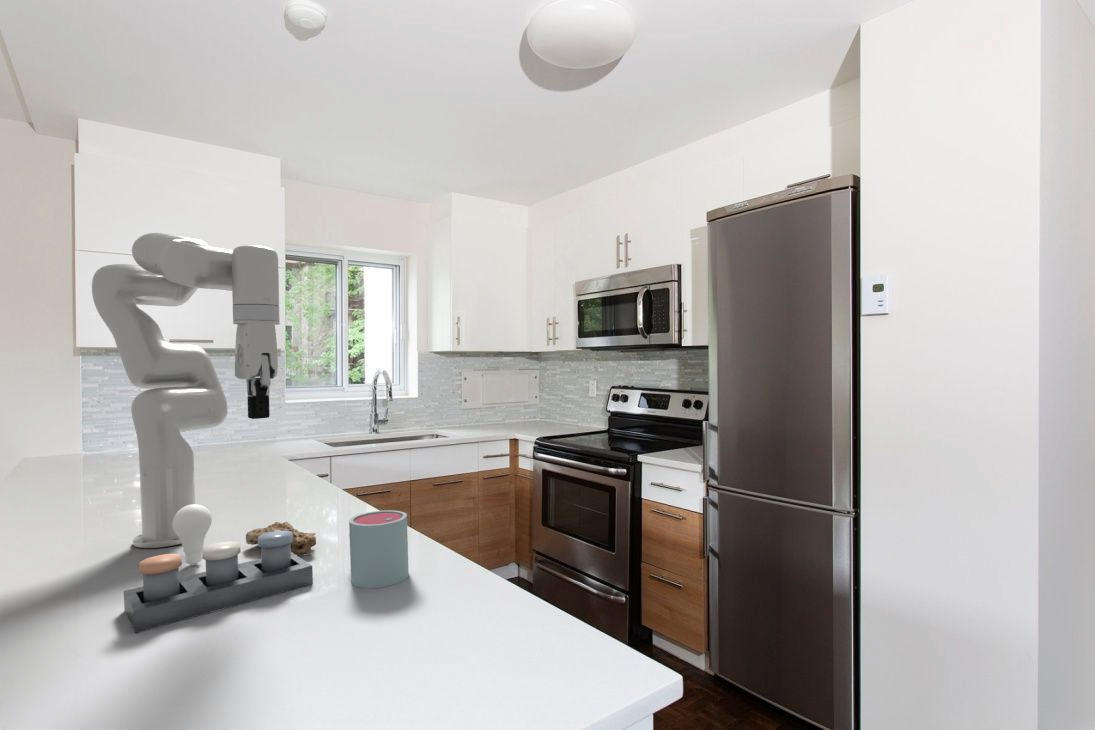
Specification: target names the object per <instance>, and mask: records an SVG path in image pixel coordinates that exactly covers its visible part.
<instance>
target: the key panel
mask: <svg viewBox="0 0 1095 730" xmlns="http://www.w3.org/2000/svg"><path fill="white" fill-rule="evenodd" d="M313 572H314V571H313V565H312V564H311V563H309V562H308V561H306V560H305V559H303V558H301V557H300V556H298V555H295V554H294V553H292V552H291V567H287V568H283V569H279V570H275V571H271V572H267V573H263V572H262V564H261V558H258V559H254V560H250V561H245V562H240V563H238V576H239V580H235V581H231V582H227V583H223V584H219V585H215V586H211V587H207V588H206V571H202V572H199V573H194V574H190V575H185V576H182V577H181V576H179V587H180V594H179V595H175V596H171V597H167V598H163V599H159V600H155V601H151V602H147V603H144V590H143V586H138V587H134V588H129V589H125V590H123V604H124V607H123V608H124V610H123V611H124V613H125V614H126V617H127V619H128V621H129V623H130V625H131V628H132V630H133V632H134V634H137V633H141V632H144V631H147V630H151V629H156V628H158V627H162V626H166V625H169V624H172V623H176V622H180V621H184V620H188V619H192V618H194V617H198V616H202V615H205V614H208V613H214V612H216V611H220V610H224V609H227V608H230V607H234V606H238V605H241V604H245V603H249V602H253V601H256V600H260V599H263V598H266V597H267V598H268V597H270V596H275V595H278V594H282V593H284V592H285V593H286V592H289V591H293V590H297V589H299V588H300V589H301V588H303V587H307V586H310V585H313V584H314V580H313V579H314V578H313V577H314V576H313V575H314V574H313Z"/></svg>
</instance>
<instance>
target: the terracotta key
mask: <svg viewBox="0 0 1095 730" xmlns="http://www.w3.org/2000/svg"><path fill="white" fill-rule="evenodd" d="M182 560H183V559H182V554H181V553H180V554H179V553H165V554H159V555H155V556H149V557H147V558H145V559H143V560H141V561H140V562H139V564H138V567H139V569H138V570H139V571H138V572H139V574H142V585H143V590H144V603H147V602H151V601H155V600H159V599H163V598H167V597H171V596H175V595H179V594H180V587H179V578H180V567H181V566H182V565H183V561H182Z"/></svg>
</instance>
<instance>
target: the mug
mask: <svg viewBox="0 0 1095 730" xmlns="http://www.w3.org/2000/svg"><path fill="white" fill-rule="evenodd" d="M407 517H408V514H407V513H406V512H405V511H400V510H394V509H393V510H392V509H391V510H388V509H387V510H385V509H384V510H375V511H368V512H364V513H360V514H357V515H354V516H352V517H350V518H349V521H348V524H349V525H348V526H349V528H348V529H349V531H348V532H349V535H348V536H349V552H350V553H349V554H350V555H349V558H350V561H349V562H350V582H351V584H352V586H355V587H357V588H361V589H378V588H384V587H390V586H393V585H397V584H399V583H401V582H403V581H406V579H407V578H408V577H409V546H408V545H409V544H408V543H409V541H408V540H409V539H408V538H409V537H408V518H407Z"/></svg>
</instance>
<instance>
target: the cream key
mask: <svg viewBox="0 0 1095 730" xmlns="http://www.w3.org/2000/svg"><path fill="white" fill-rule="evenodd" d="M241 551H242V549H241V543H240V542H238V541H221V542H217V543H216V542H215V543H212V544H208V545H207V546H205V547H204V546H203V549H202V559H203V560H204V561H205V572H206V588H207V587H211V586H215V585H219V584H223V583H227V582H231V581H235V580H239V576H238V564H239V554H240V553H241Z"/></svg>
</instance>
